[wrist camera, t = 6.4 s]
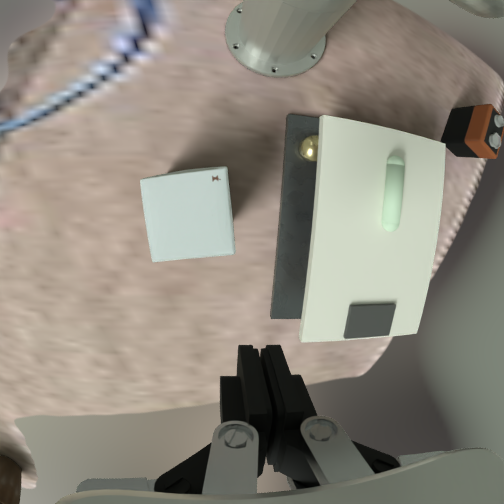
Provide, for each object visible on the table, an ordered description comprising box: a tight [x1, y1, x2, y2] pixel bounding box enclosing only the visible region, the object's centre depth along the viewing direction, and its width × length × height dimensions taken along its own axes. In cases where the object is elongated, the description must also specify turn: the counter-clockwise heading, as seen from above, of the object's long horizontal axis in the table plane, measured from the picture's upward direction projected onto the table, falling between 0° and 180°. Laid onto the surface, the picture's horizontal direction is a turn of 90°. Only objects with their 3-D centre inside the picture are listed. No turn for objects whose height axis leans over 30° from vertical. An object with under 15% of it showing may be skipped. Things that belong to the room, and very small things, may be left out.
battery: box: [441, 104, 504, 159], centre depth 33 cm, size 4×7×10 cm, turn 154°
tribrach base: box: [270, 114, 320, 319], centre depth 37 cm, size 26×20×6 cm
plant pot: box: [0, 455, 21, 504], centre depth 40 cm, size 15×15×16 cm
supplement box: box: [140, 166, 236, 262], centre depth 30 cm, size 7×7×13 cm
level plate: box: [299, 115, 446, 342], centre depth 32 cm, size 24×16×4 cm, turn 176°
